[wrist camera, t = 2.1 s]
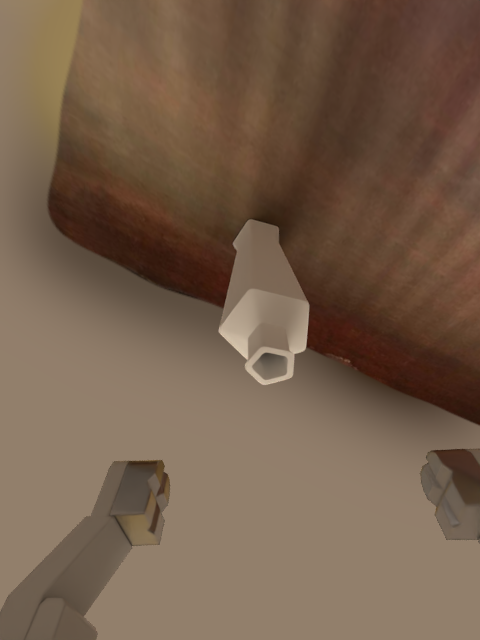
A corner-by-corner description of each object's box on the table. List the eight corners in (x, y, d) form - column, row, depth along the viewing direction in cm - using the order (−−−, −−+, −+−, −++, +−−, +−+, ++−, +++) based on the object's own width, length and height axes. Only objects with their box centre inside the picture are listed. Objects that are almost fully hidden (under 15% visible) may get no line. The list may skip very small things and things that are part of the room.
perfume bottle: (265, 278, 28) (283, 417, 15) (222, 252, 27) (203, 380, 14) (298, 235, 26) (350, 355, 13) (253, 204, 24) (263, 305, 12)
